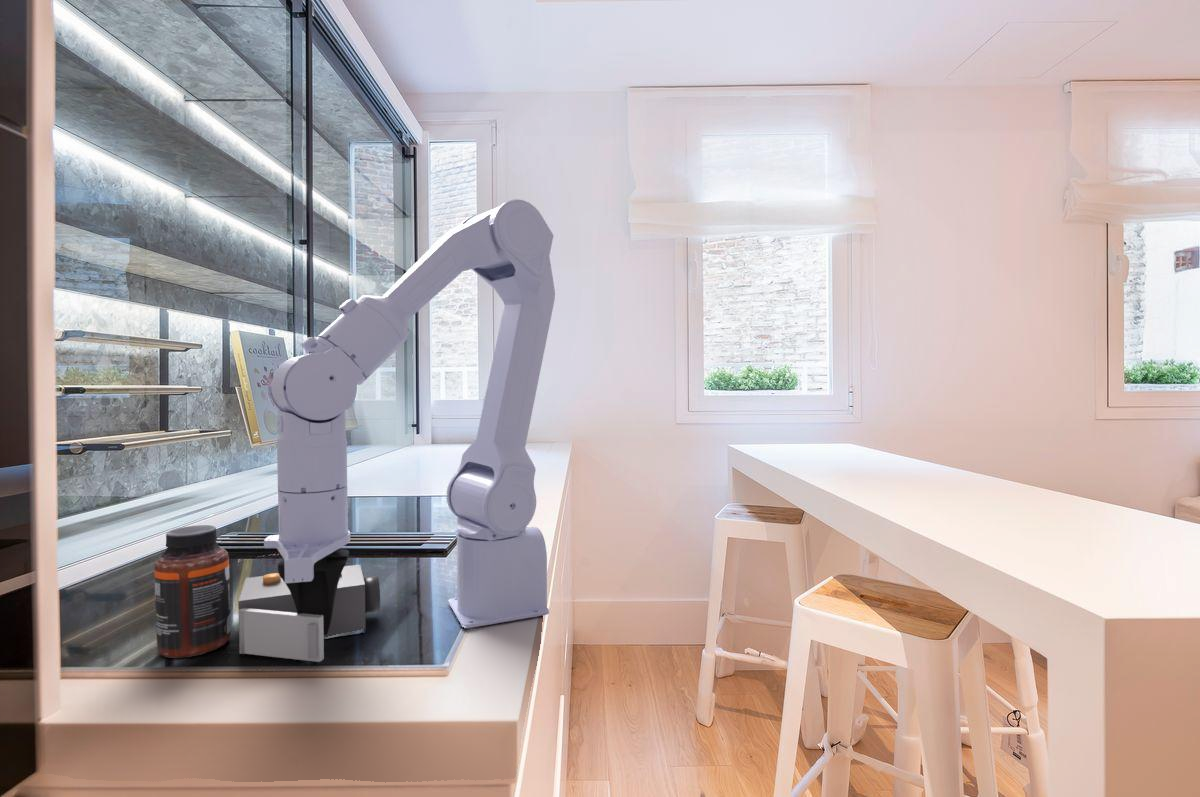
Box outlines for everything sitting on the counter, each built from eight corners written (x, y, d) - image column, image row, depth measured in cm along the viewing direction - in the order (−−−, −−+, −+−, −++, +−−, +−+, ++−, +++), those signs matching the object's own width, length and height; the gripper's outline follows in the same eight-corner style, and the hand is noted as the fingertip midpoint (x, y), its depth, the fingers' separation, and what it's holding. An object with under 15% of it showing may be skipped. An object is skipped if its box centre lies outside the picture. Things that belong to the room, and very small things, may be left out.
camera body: (376, 606, 69) (376, 557, 69) (383, 630, 63) (382, 576, 62) (246, 625, 64) (245, 572, 63) (239, 653, 57) (238, 594, 57)
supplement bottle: (245, 635, 61) (243, 522, 61) (201, 663, 56) (198, 539, 55) (189, 632, 62) (187, 521, 62) (140, 659, 56) (136, 536, 56)
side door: (324, 658, 56) (324, 614, 55) (315, 664, 54) (315, 620, 54) (244, 649, 57) (243, 607, 57) (234, 655, 56) (233, 612, 56)
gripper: (283, 475, 62) (285, 608, 62) (240, 507, 48) (244, 678, 48) (358, 472, 64) (359, 602, 64) (338, 502, 50) (340, 667, 50)
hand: (315, 634), depth 56 cm, fingers closed, pressing on side door
